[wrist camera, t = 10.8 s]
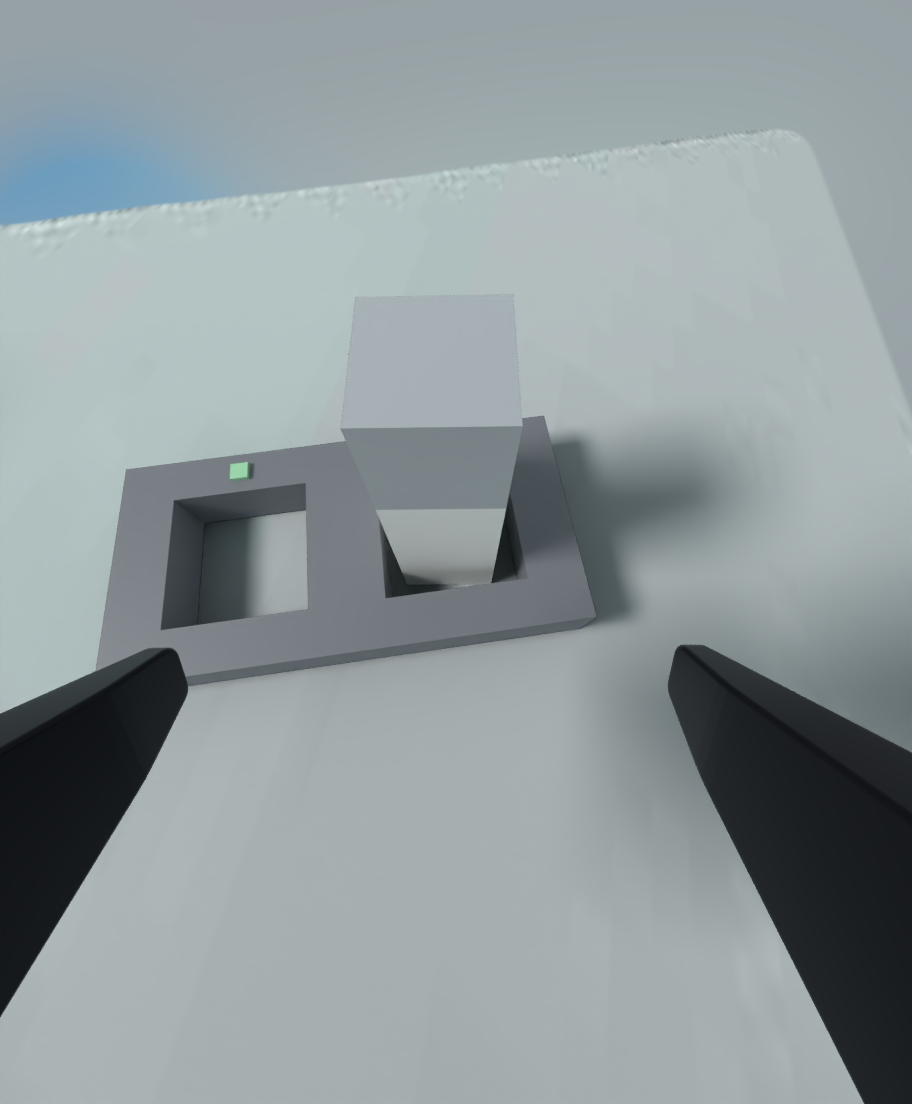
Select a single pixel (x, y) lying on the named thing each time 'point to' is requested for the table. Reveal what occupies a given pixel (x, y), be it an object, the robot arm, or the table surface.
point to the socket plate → (327, 566)
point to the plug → (436, 427)
